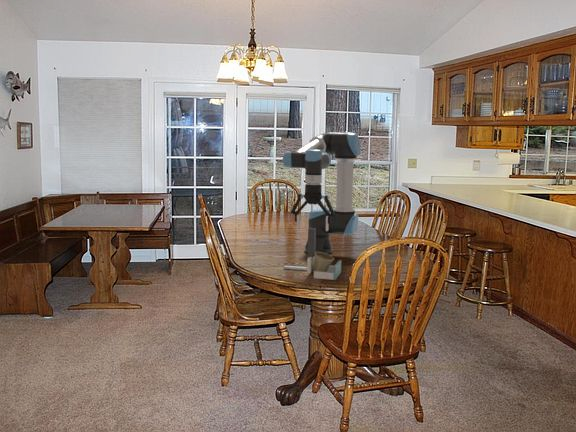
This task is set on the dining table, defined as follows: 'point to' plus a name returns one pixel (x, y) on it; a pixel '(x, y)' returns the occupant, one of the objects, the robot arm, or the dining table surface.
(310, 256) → the paddle
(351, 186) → the robot arm
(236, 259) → the dining table surface
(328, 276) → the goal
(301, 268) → the track
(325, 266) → the flower pot
